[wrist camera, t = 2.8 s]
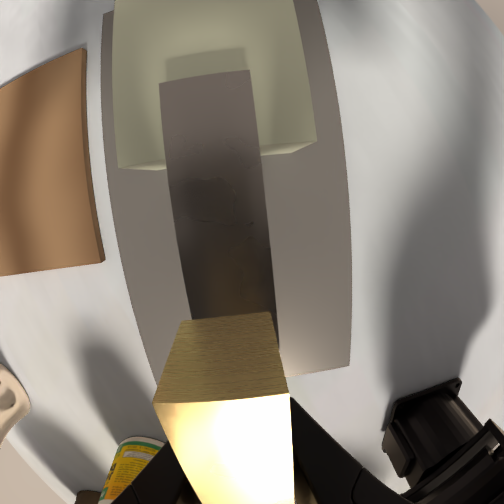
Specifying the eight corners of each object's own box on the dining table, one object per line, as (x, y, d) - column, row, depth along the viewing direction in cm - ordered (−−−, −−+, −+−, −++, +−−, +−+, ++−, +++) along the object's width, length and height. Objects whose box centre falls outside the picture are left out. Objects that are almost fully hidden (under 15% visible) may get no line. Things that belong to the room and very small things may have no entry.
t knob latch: (252, 111, 12) (288, -47, 2) (279, 366, 15) (316, 542, 5) (183, 120, 12) (55, 3, 2) (222, 372, 15) (213, 551, 5)
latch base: (308, -5, 11) (312, -16, 10) (343, 354, 17) (349, 365, 15) (111, 22, 11) (103, 14, 10) (161, 375, 16) (157, 387, 15)
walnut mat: (86, 51, 12) (82, 47, 11) (105, 259, 15) (101, 262, 14) (-24, 108, 12) (-29, 108, 11) (-7, 275, 14) (-12, 278, 14)
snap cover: (268, 3, 11) (279, -51, 6) (291, 152, 13) (317, 141, 8) (147, 20, 11) (117, -26, 6) (156, 170, 13) (118, 167, 8)
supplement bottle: (184, 476, 19) (173, 568, 10) (124, 464, 19) (99, 550, 10) (183, 441, 18) (166, 552, 9) (114, 427, 18) (76, 526, 8)
